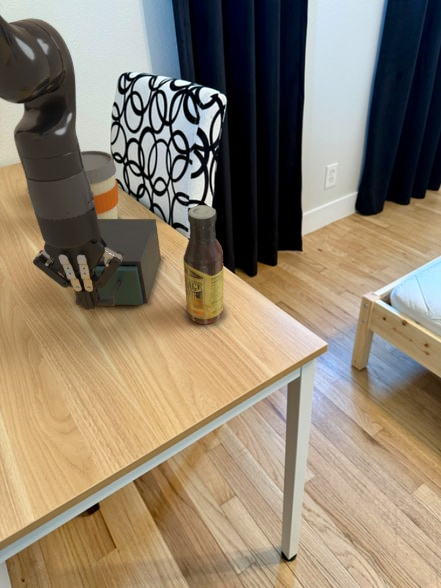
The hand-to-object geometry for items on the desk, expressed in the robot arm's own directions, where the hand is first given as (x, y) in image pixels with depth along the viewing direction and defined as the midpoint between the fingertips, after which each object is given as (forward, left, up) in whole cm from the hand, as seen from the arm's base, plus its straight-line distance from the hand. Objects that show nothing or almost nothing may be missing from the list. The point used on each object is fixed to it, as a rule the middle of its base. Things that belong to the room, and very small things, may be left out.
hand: (91, 305), depth 66 cm
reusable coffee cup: (-11, +38, -7) cm, 40 cm away
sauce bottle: (+17, +6, -7) cm, 19 cm away
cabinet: (0, +16, -6) cm, 17 cm away
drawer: (0, +11, -5) cm, 12 cm away
